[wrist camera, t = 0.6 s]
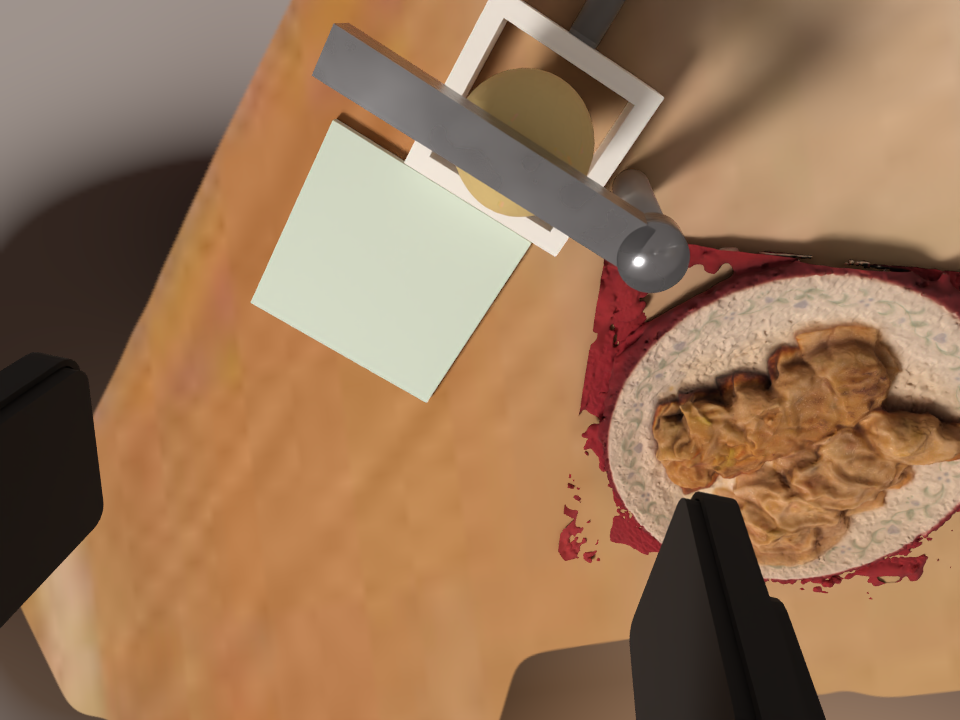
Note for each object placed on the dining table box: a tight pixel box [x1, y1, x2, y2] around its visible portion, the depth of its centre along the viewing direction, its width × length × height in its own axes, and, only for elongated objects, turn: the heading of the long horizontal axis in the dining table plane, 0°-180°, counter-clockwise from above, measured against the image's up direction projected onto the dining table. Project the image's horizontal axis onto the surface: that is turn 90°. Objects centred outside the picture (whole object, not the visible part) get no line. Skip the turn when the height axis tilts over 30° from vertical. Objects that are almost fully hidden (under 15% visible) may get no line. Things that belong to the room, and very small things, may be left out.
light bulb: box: [456, 68, 595, 217], centre depth 32 cm, size 6×6×10 cm
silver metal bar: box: [312, 23, 690, 293], centre depth 26 cm, size 3×16×2 cm, turn 59°
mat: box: [251, 119, 532, 403], centre depth 42 cm, size 13×13×1 cm
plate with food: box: [558, 244, 960, 599], centre depth 43 cm, size 25×26×4 cm
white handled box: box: [404, 0, 664, 257], centre depth 30 cm, size 20×12×10 cm, turn 149°
